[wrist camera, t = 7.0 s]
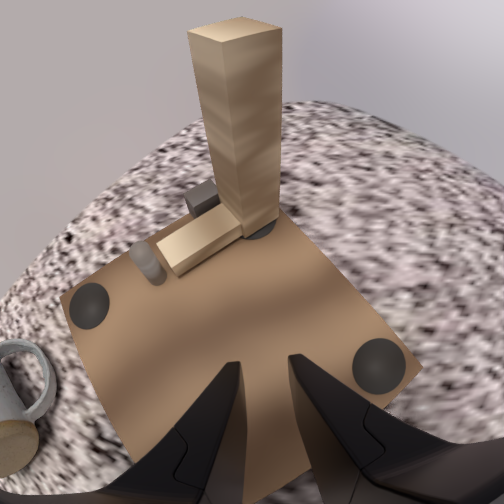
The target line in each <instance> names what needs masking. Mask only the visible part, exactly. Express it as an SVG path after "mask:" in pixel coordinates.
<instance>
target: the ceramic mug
mask: <svg viewBox="0 0 504 504" xmlns="http://www.w3.org/2000/svg"><path fill="white" fill-rule="evenodd" d="M19 351H28V352H32V353H33V354H34V355H36V357H37V359H38V360H39V362H40V364H41V366H42V368H43V377H44V378H45V388H44V390H43V392H42V394H41V396H40V398H39V399H38V400H37V401H36V402H35V403H34V405H33V406H31V407H30V408H29V409H28V410H27V409H26V407H25V406H24V404H23V402H22V401H21V399H20V398H19V396H18V395H17V393H16V391H15V389H14V388H13V385H12V383H11V382H10V379H9V377H8V375H7V373H6V371H5V369H4V367H3V365H2V363H1V359H2V358H3V357H5V356H7V355H9V354H12V353H15V352H19ZM56 388H57V384H56V376H55V372H54V369H53V367H52V365H51V363H50V361H49V360H48V359H47V357H46V356H45V354H44V353H43V351H42V350H41V349H40V348H39V346H37V345H36V344H35V343H33V342H31V341H29V340H25V339H9V340H5V341H2V342H0V478H4V477H7V476H10V475H12V474H14V473H16V472H18V471H19V470H21V469H22V468H23V467H24V466H26V465H27V464H28V463H29V462H30V461H31V460H32V458H33V457H34V455H35V453H36V451H37V449H38V445H39V434H38V431H37V429H36V427H35V424H34V422H35V420H37V419H38V418H40V417H41V416H43V415H44V414H45V413H46V411H47V410H48V408H49V407H50V406H51V404H52V402H53V400H54V398H55V395H56Z"/></svg>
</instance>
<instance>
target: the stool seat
mask: <svg viewBox="0 0 504 504" xmlns="http://www.w3.org/2000/svg"><path fill="white" fill-rule="evenodd" d="M183 195H184V198H185V201H186V204H187V207H188V209H189V212H190V213H189V214H187V215H185V216H184V217H182V218H180V219H179V220H177V221H175V222H174V223H172V224H170V225H169V226H167V227H165V228H164V229H162V230H160V231H159V232H157V233H155V234H154V235H152V236H151V237H149V238H147V239H146V240H144V241H137V242H135V243H134V244H133V245H132V246H131V247H130V249H129V250H128V251H127V252H125V253H124V254H122V255H121V256H119V257H118V258H116V259H114V260H113V261H111V262H110V263H108V264H107V265H105V266H104V267H102V268H101V269H99V270H98V271H96V272H95V273H93V274H92V275H90V276H89V277H88V278H86V279H85V280H83V281H82V282H80V283H79V284H77V285H76V286H75V287H73V288H72V289H70V290H69V291H67V292H66V293H65V294H63V295H62V296H60V301H61V304H62V307H63V310H64V314H65V317H66V320H67V323H68V325H69V328H70V331H71V334H72V337H73V339H74V342H75V345H76V347H77V350H78V353H79V355H80V358H81V360H82V362H83V365H84V367H85V370H86V372H87V374H88V376H89V379H90V381H91V383H92V385H93V388H94V390H95V392H96V394H97V396H98V398H99V400H100V402H101V404H102V406H103V408H104V410H105V412H106V414H107V416H108V418H109V420H110V422H111V423H112V425H113V427H114V429H115V431H116V432H117V434H118V436H119V438H120V439H121V441H122V443H123V445H124V446H125V448H126V450H127V451H128V453H129V454H130V456H131V458H132V459H133V461H134V462H135V463H136V462H137V461H139V460H140V459H141V458H142V457H143V456H144V455H146V454H147V453H148V452H149V451H150V450H151V449H152V448H153V447H154V446H155V445H156V444H157V443H158V442H159V441H160V440H161V439H162V438H163V437H164V436H165V435H166V434H167V433H168V431H169V430H170V429H171V428H172V427H174V425H175V423H176V422H177V421H178V420H179V419H180V418H181V417H182V415H183V414H184V413H185V412H186V411H187V410H188V408H189V407H190V406H191V405H192V404H193V402H194V401H195V400H196V399H197V398H198V397H199V395H200V394H201V393H202V392H203V391H204V389H205V388H206V387H207V386H208V384H209V383H210V382H211V381H212V380H213V378H214V377H215V376H216V375H217V374H218V372H219V371H220V370H221V369H222V367H223V366H224V365H225V364H226V363H227V362H232V361H240V362H241V366H242V372H243V378H244V385H245V397H246V411H247V426H248V431H247V447H246V461H245V474H244V487H243V500H242V504H254V503H256V502H257V501H259V500H261V499H263V498H264V497H266V496H268V495H270V494H271V493H273V492H275V491H276V490H278V489H280V488H281V487H283V486H284V485H286V484H288V483H289V482H291V481H292V480H294V479H295V478H297V477H298V476H300V475H301V474H303V473H304V472H306V471H307V470H309V469H310V468H312V467H311V464H310V461H309V458H308V456H307V453H306V450H305V447H304V444H303V441H302V438H301V435H300V432H299V429H298V425H297V422H296V417H295V412H294V406H293V400H292V395H291V389H290V383H289V374H288V356H289V355H293V354H299V353H301V354H303V355H304V356H306V357H307V358H308V359H310V360H311V361H313V362H314V363H315V364H317V365H318V366H320V367H321V368H322V369H324V370H325V371H327V372H328V373H329V374H331V375H332V376H334V377H335V378H336V379H338V380H339V381H341V382H342V383H344V384H345V385H347V386H348V387H349V388H351V389H352V390H354V391H355V392H357V393H358V394H360V395H361V396H363V397H364V398H366V399H367V400H369V401H370V402H371V403H373V404H375V405H376V406H378V407H379V408H381V409H382V410H383V409H384V408H385V407H386V406H387V405H388V404H389V403H390V402H391V401H392V400H393V399H394V398H395V397H396V396H397V395H398V394H399V393H400V392H401V391H402V390H403V389H404V388H405V387H406V386H407V385H408V384H409V382H410V381H411V380H412V379H413V378H414V377H415V376H416V375H417V374H418V373H419V372H420V370H421V369H422V368H423V366H422V365H421V364H420V363H419V361H418V360H417V359H416V358H415V357H414V355H413V354H412V353H411V352H410V351H409V349H408V348H407V347H406V346H405V345H404V343H403V342H402V341H401V340H400V339H399V338H398V336H397V335H396V334H395V333H394V332H393V331H392V329H391V328H390V327H389V326H388V325H387V324H386V322H385V321H384V320H383V319H382V318H381V317H380V316H379V314H378V313H377V312H376V311H375V310H374V309H373V308H372V306H371V305H370V304H369V303H368V302H367V301H366V300H365V299H364V297H363V296H362V295H361V294H360V293H359V292H358V291H357V290H356V289H355V287H354V286H353V285H352V284H351V283H350V282H349V281H348V280H347V279H346V278H345V276H344V275H343V274H342V273H341V272H340V271H339V270H338V269H337V268H336V267H335V266H334V265H333V263H332V262H331V261H330V260H329V259H328V258H327V257H326V256H325V255H324V254H323V253H322V252H321V251H320V250H319V249H318V247H317V246H316V245H315V244H314V243H313V242H312V241H311V240H310V239H309V238H308V237H307V236H306V235H305V234H304V233H303V232H302V231H301V230H300V229H299V228H298V227H297V226H296V225H295V223H294V222H293V221H292V220H291V219H290V218H289V217H288V216H287V215H286V214H285V213H284V212H283V211H282V210H281V209H280V208H279V217H278V218H276V219H275V220H273V221H271V222H270V223H268V224H267V225H265V226H264V227H262V228H261V229H259V230H257V231H256V232H254V233H253V234H251V235H250V236H248V237H246V238H245V237H244V236H243V235H242V236H240V237H239V238H237V239H235V240H234V241H232V242H231V243H229V244H228V245H226V246H224V247H223V248H221V249H220V250H218V251H217V252H215V253H214V254H212V255H211V256H209V257H207V258H206V259H204V260H203V261H201V262H200V263H198V264H197V265H195V266H194V267H192V268H190V269H189V270H187V271H186V272H184V273H183V274H181V275H180V276H178V277H177V276H176V274H175V273H174V271H173V270H172V268H171V267H170V265H169V264H168V262H167V260H166V259H165V257H164V256H163V254H162V253H161V251H160V249H159V247H158V246H157V244H156V243H158V242H159V241H161V240H162V239H164V238H166V237H167V236H169V235H170V234H172V233H174V232H175V231H177V230H178V229H180V228H182V227H183V226H185V225H186V224H188V223H190V222H191V221H193V220H195V219H196V218H198V217H199V216H201V215H203V214H204V213H206V212H208V211H209V210H211V209H213V208H214V207H216V206H218V205H219V204H220V200H219V195H218V190H217V186H216V185H215V184H214V183H213V181H212V180H211V179H209V180H207V181H205V182H203V183H201V184H200V185H198V186H196V187H194V188H192V189H191V190H189V191H187V192H185V193H184V194H183Z"/></svg>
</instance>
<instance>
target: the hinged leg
mask: <svg viewBox="0 0 504 504" xmlns="http://www.w3.org/2000/svg"><path fill="white" fill-rule="evenodd" d="M187 34H188V39H189V45H190V51H191V56H192V62H193V67H194V73H195V78H196V84H197V88H198V94H199V100H200V105H201V110H202V115H203V120H204V126H205V131H206V136H207V141H208V146H209V151H210V156H211V161H212V166H213V171H214V176H215V180H216V185H217V190H218V195H219V200H220V204H219V205H218V206H216V207H214V208H213V209H211V210H209V211H208V212H206V213H204V214H203V215H201V216H199V217H198V218H196V219H195V220H193V221H191V222H190V223H188V224H186V225H185V226H183V227H182V228H180V229H178V230H177V231H175V232H174V233H172V234H170V235H169V236H167V237H166V238H164V239H162V240H161V241H159V242H158V243H156V244H157V246H158V247H159V249H160V251H161V253H162V254H163V256H164V257H165V259H166V260H167V262H168V264H169V265H170V267H171V268H172V270H173V271H174V273H175V274H176V276H177V277H178V276H180V275H181V274H183V273H184V272H186V271H187V270H189V269H190V268H192V267H194V266H195V265H197V264H198V263H200V262H201V261H203V260H204V259H206V258H207V257H209V256H211V255H212V254H214V253H215V252H217V251H218V250H220V249H221V248H223V247H224V246H226V245H228V244H229V243H231V242H232V241H234V240H235V239H237V238H239V237H240V236H242V235H243V236H244V237H245V238H246V237H248V236H250V235H251V234H253V233H254V232H256V231H257V230H259V229H261V228H262V227H264V226H265V225H267V224H268V223H270V222H271V221H273V220H275V219H276V218H278V217H279V195H280V164H281V121H282V28H281V27H278V26H274V25H271V24H267V23H264V22H260V21H257V20H253V19H249V18H245V17H239V18H234V19H229V20H225V21H221V22H217V23H213V24H209V25H206V26H202V27H199V28H195V29H192V30H189V31H187Z"/></svg>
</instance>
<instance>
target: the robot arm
mask: <svg viewBox="0 0 504 504" xmlns="http://www.w3.org/2000/svg"><path fill="white" fill-rule="evenodd" d="M288 374H289V383H290V389H291V395H292V400H293V406H294V412H295V417H296V422H297V425H298V429H299V432H300V435H301V438H302V441H303V444H304V447H305V450H306V453H307V456H308V458H309V461H310V464H311V467H312V470H313V473H314V476H315V479H316V482H317V485H318V488H319V491H320V494H321V497H322V500H323V502H324V504H504V437H503V438H499V439H494V440H489V441H483V442H478V443H471V444H456V443H451V442H448V441H445V440H443V439H440V438H438V437H436V436H433V435H431V434H429V433H427V432H425V431H422V430H420V429H418V428H416V427H414V426H412V425H409V424H407V423H405V422H404V421H402V420H400V419H398V418H396V417H394V416H392V415H391V414H389V413H387V412H386V411H384V410H382V409H381V408H379V407H378V406H376V405H375V404H373V403H371V402H370V401H369V400H367V399H366V398H364V397H363V396H361V395H360V394H358V393H357V392H355V391H354V390H352V389H351V388H349V387H348V386H347V385H345V384H344V383H342V382H341V381H339V380H338V379H336V378H335V377H334V376H332V375H331V374H329V373H328V372H327V371H325V370H324V369H322V368H321V367H320V366H318V365H317V364H315V363H314V362H313V361H311V360H310V359H308V358H307V357H306V356H304V355H303V354H301V353H299V354H293V355H289V356H288ZM247 431H248V426H247V411H246V397H245V385H244V378H243V372H242V366H241V362H240V361H232V362H227V363H226V364H225V365H224V366H223V367H222V369H221V370H220V371H219V372H218V374H217V375H216V376H215V377H214V378H213V380H212V381H211V382H210V383H209V384H208V386H207V387H206V388H205V389H204V391H203V392H202V393H201V394H200V395H199V397H198V398H197V399H196V400H195V401H194V402H193V404H192V405H191V406H190V407H189V408H188V410H187V411H186V412H185V413H184V414H183V415H182V417H181V418H180V419H179V420H178V421H177V422H176V423H175V425H174V427H172V428H171V429H170V430H169V431H168V433H167V434H166V435H165V436H164V437H163V438H162V439H161V440H160V441H159V442H158V443H157V444H156V445H155V446H154V447H153V448H152V449H151V450H150V451H149V452H148V453H147V454H146V455H144V456H143V457H142V458H141V459H140V460H139V461H137V462H136V463H135V464H134V465H133V466H131V467H130V468H129V469H128V470H127V471H125V472H124V473H123V474H122V475H120V476H119V477H118V478H117V479H115V480H114V481H113V482H111V483H110V484H109V485H107V486H105V487H103V488H101V489H99V490H96V491H92V492H85V493H74V494H59V495H20V494H13V493H9V492H6V491H3V490H1V489H0V504H242V500H243V487H244V474H245V461H246V447H247Z"/></svg>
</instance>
